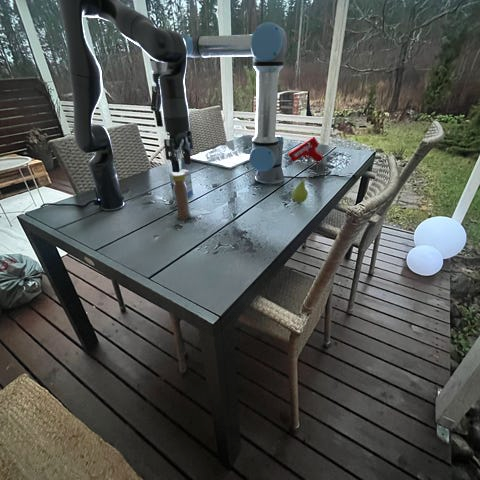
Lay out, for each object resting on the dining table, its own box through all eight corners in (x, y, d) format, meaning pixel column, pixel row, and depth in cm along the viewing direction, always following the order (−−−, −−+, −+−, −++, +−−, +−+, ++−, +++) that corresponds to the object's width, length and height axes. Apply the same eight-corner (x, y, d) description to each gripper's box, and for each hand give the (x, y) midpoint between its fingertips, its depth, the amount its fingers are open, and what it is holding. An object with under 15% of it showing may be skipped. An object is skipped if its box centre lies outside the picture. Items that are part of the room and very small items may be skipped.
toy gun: (326, 156, 168) (314, 136, 164) (326, 158, 165) (313, 137, 161) (301, 172, 178) (289, 152, 174) (300, 174, 175) (288, 154, 171)
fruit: (288, 200, 123) (290, 174, 116) (302, 197, 125) (305, 172, 119) (296, 206, 118) (299, 179, 111) (310, 203, 120) (314, 177, 114)
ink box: (187, 192, 132) (184, 168, 125) (193, 195, 129) (190, 170, 122) (172, 197, 127) (168, 172, 120) (178, 200, 124) (174, 175, 117)
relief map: (229, 168, 161) (229, 160, 158) (188, 158, 179) (187, 150, 176) (255, 158, 179) (255, 150, 177) (215, 150, 197) (215, 142, 194)
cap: (187, 179, 101) (186, 174, 100) (175, 182, 99) (175, 176, 98) (182, 176, 104) (181, 170, 103) (171, 178, 102) (170, 173, 101)
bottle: (191, 217, 110) (187, 175, 100) (181, 220, 108) (175, 177, 98) (187, 213, 113) (181, 171, 104) (176, 216, 111) (170, 174, 101)
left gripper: (175, 110, 87) (181, 160, 96) (151, 117, 76) (161, 173, 85) (197, 111, 86) (201, 162, 94) (176, 118, 74) (183, 176, 83)
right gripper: (167, 72, 132) (173, 119, 143) (136, 73, 112) (146, 128, 123) (181, 72, 130) (186, 120, 141) (151, 73, 110) (160, 129, 121)
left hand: (182, 167), depth 89 cm, fingers open, 8 cm apart
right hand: (167, 124), depth 132 cm, fingers open, 13 cm apart
